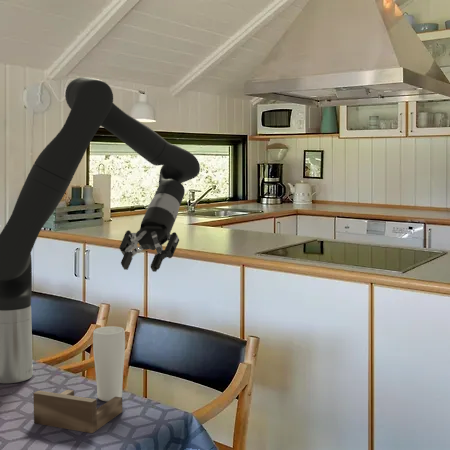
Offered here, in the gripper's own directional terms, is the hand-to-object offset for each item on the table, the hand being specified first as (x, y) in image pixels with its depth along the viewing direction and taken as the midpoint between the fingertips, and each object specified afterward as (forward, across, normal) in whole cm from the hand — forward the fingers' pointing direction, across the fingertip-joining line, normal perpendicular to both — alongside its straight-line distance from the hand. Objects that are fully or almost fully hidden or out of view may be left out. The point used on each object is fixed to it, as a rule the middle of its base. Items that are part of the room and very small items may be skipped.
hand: (138, 268), depth 142 cm
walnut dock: (+36, 0, +2) cm, 36 cm away
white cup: (+28, 0, +10) cm, 30 cm away
